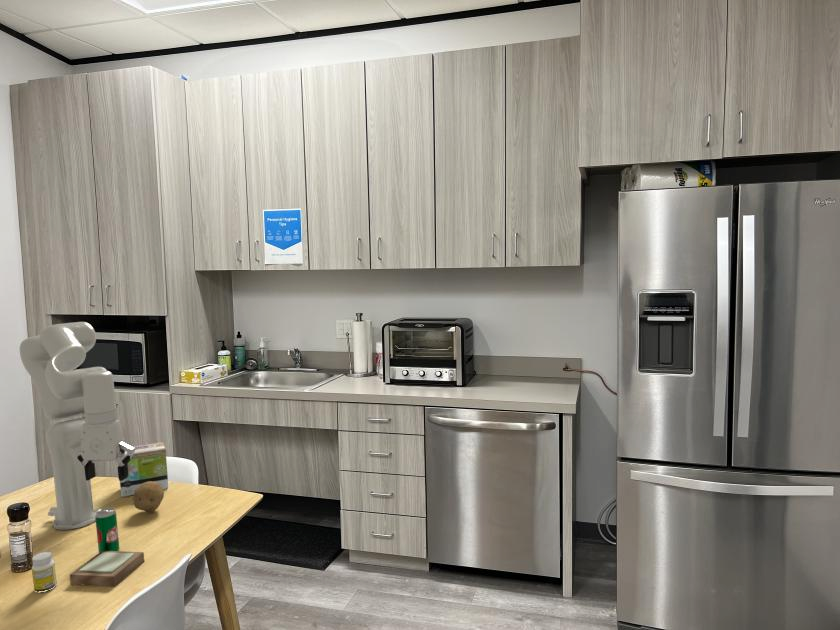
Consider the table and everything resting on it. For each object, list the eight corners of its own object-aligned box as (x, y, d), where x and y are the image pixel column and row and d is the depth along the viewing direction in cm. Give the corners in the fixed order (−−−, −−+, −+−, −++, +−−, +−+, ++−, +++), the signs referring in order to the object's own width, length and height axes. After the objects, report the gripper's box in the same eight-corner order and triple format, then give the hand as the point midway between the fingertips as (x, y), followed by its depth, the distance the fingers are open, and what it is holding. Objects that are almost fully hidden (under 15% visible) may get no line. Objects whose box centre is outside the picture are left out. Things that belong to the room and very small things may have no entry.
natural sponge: (156, 519, 184) (153, 487, 183) (128, 519, 185) (125, 488, 184) (170, 506, 193) (167, 476, 192) (143, 507, 194) (140, 477, 193)
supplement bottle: (40, 583, 149) (37, 551, 148) (60, 582, 149) (57, 550, 148) (30, 594, 144) (26, 561, 143) (50, 593, 144) (46, 559, 143)
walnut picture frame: (70, 584, 148) (69, 573, 147) (103, 560, 159) (101, 549, 159) (115, 586, 146) (113, 574, 146) (144, 561, 158) (143, 550, 157)
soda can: (111, 557, 161) (106, 514, 159) (94, 556, 162) (90, 513, 160) (123, 548, 165) (119, 506, 164) (107, 547, 167) (103, 506, 165)
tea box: (121, 498, 202) (117, 456, 200) (120, 489, 211) (116, 448, 209) (169, 489, 208) (165, 447, 207) (166, 480, 217) (163, 440, 216)
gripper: (61, 421, 158) (68, 483, 160) (122, 421, 155) (128, 484, 157) (81, 413, 165) (87, 473, 167) (139, 413, 163) (144, 474, 165)
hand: (107, 478), depth 162 cm, fingers open, 9 cm apart
